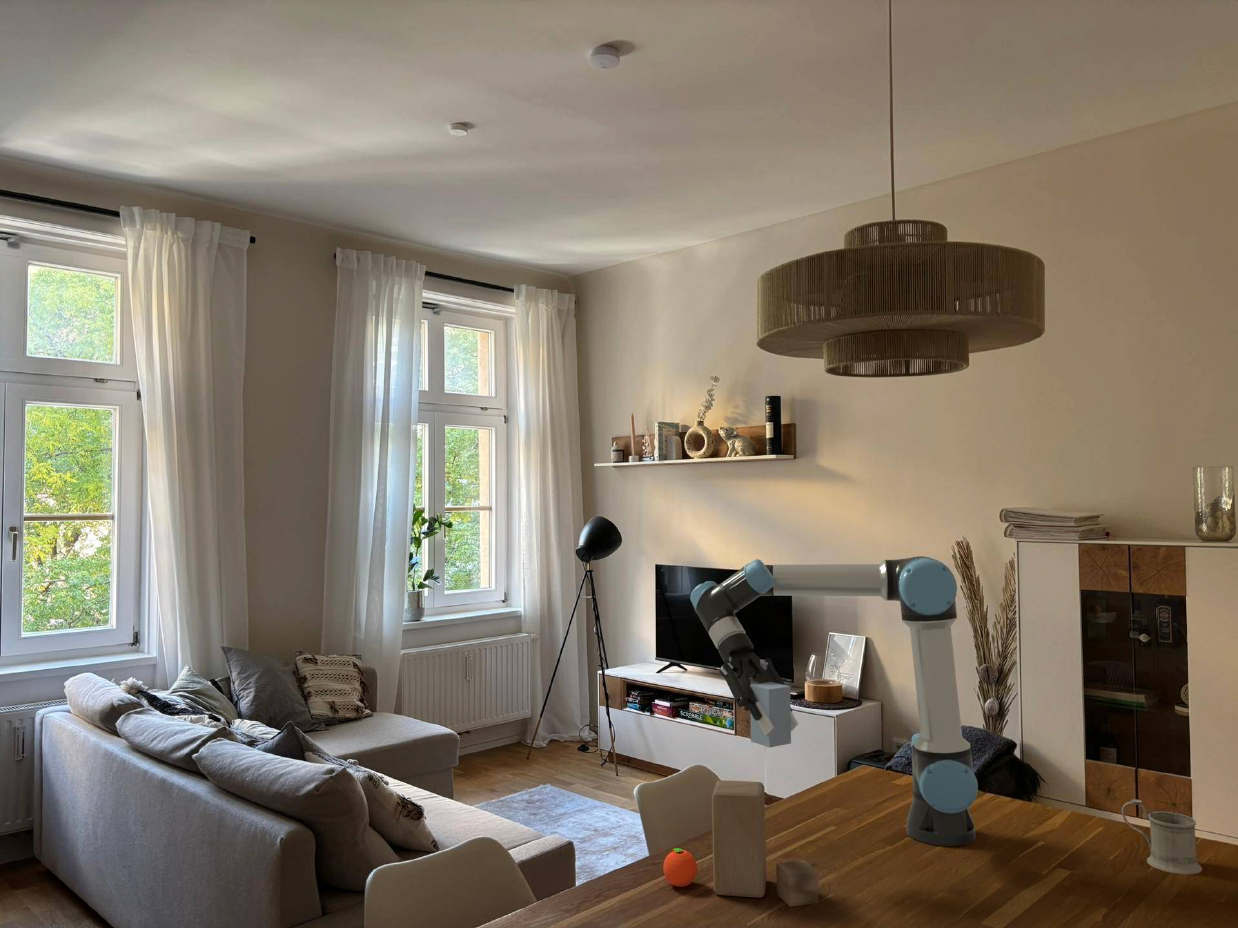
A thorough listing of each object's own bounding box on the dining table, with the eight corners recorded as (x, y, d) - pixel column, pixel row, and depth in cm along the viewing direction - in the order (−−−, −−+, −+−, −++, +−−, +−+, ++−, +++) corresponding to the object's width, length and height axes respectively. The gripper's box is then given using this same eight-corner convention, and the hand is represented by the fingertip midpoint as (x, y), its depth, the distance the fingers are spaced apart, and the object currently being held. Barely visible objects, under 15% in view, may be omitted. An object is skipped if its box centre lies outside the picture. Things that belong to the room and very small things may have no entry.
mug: (1206, 863, 190) (1203, 805, 191) (1196, 878, 183) (1193, 817, 184) (1129, 847, 200) (1127, 792, 201) (1117, 860, 193) (1114, 803, 193)
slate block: (772, 737, 197) (771, 681, 197) (791, 743, 192) (790, 686, 192) (750, 741, 194) (750, 684, 194) (769, 747, 188) (768, 689, 189)
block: (764, 899, 176) (762, 795, 177) (713, 896, 178) (711, 793, 179) (766, 879, 186) (764, 780, 187) (718, 876, 188) (715, 778, 189)
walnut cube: (804, 890, 180) (804, 859, 180) (818, 902, 174) (817, 871, 175) (776, 893, 179) (776, 863, 179) (789, 906, 173) (788, 874, 173)
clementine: (655, 879, 186) (655, 844, 187) (686, 874, 189) (685, 839, 189) (672, 894, 179) (671, 858, 179) (703, 888, 182) (702, 852, 182)
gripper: (756, 648, 212) (806, 733, 197) (691, 655, 201) (739, 746, 187) (771, 628, 207) (823, 713, 193) (705, 634, 197) (755, 725, 183)
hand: (782, 729), depth 190 cm, fingers closed on slate block, 6 cm apart
